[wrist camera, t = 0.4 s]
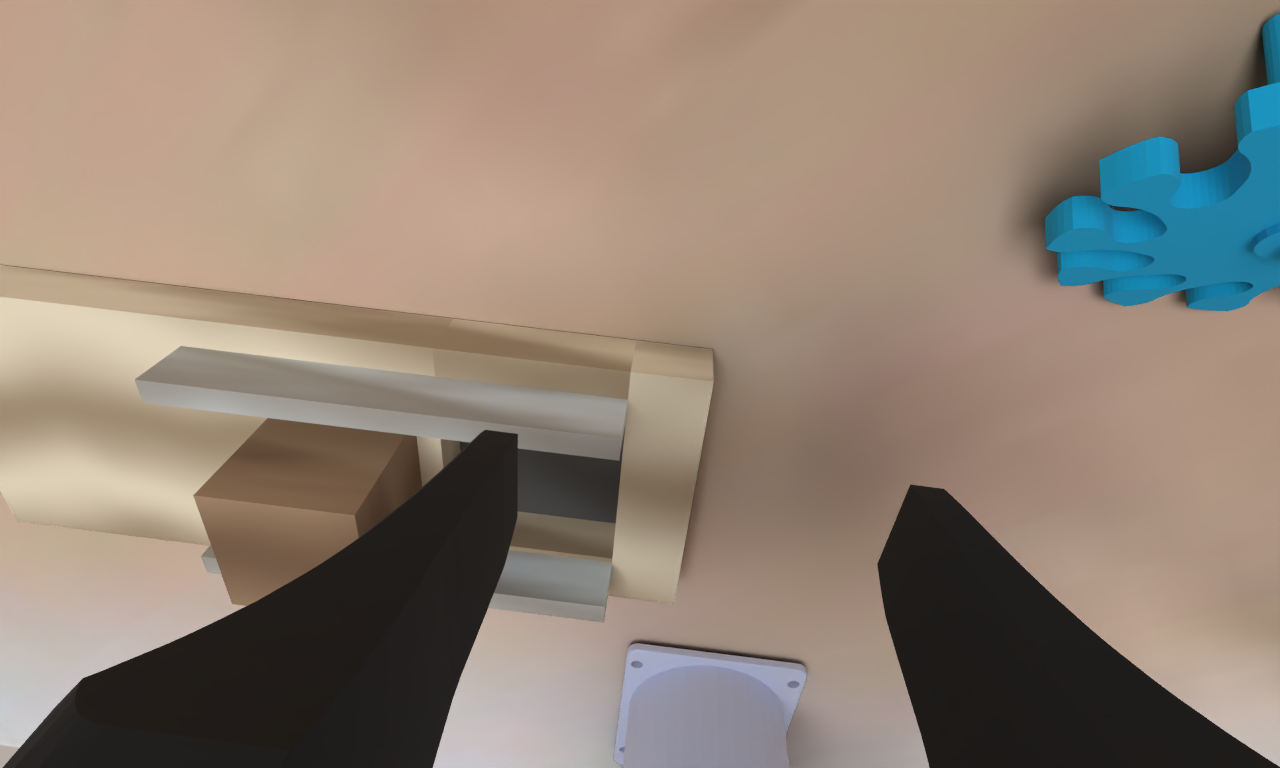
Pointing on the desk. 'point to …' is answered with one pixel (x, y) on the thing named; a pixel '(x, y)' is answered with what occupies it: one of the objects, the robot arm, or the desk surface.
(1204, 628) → the desk surface
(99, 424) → the channel board
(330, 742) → the robot arm
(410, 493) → the walnut cube
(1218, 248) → the gear
